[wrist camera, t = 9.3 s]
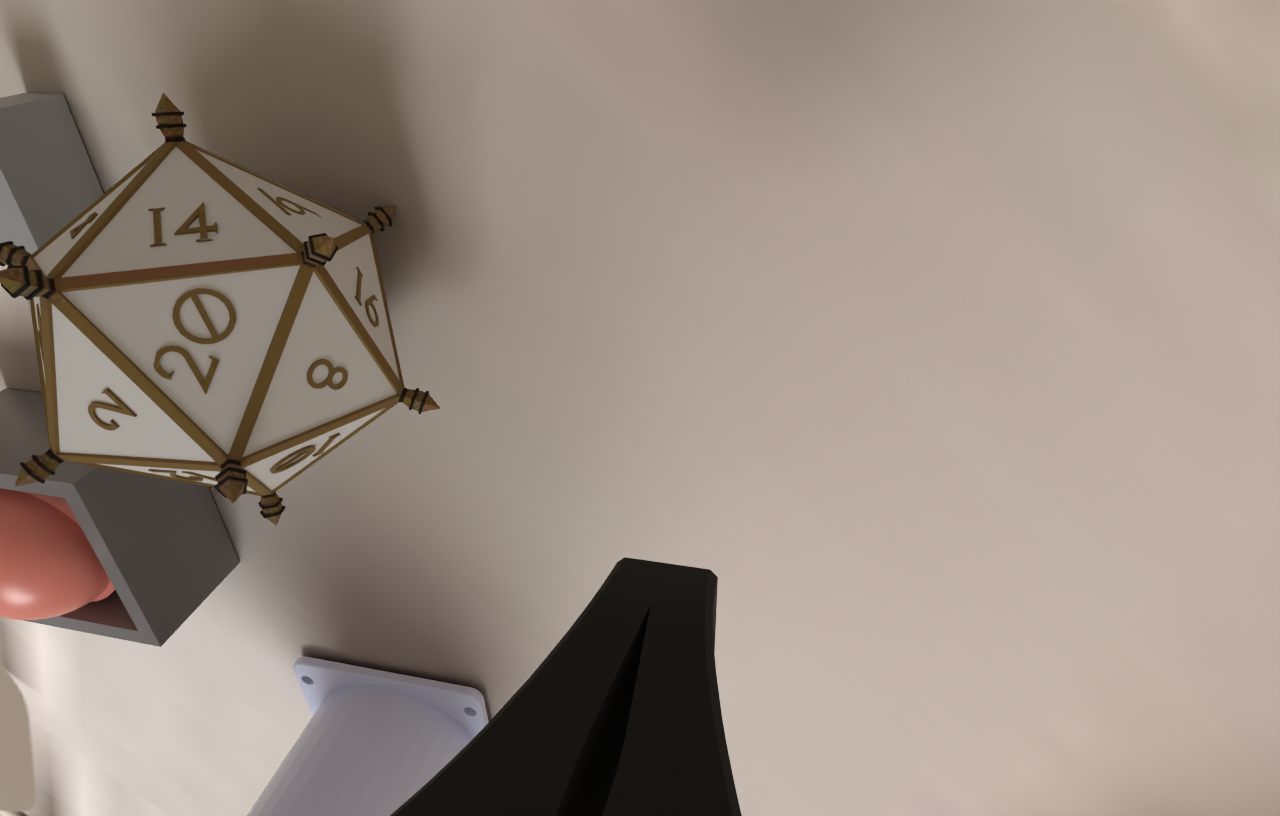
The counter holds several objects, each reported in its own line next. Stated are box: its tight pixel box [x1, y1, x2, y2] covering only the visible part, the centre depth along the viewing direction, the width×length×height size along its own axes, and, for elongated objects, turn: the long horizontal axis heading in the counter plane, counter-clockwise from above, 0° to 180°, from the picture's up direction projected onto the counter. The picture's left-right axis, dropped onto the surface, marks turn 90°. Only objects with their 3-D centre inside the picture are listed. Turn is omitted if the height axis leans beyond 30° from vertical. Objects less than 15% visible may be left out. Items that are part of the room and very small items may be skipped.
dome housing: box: [0, 389, 240, 647], centre depth 26 cm, size 7×7×4 cm
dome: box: [0, 488, 115, 620], centre depth 25 cm, size 5×5×5 cm
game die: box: [0, 93, 440, 526], centre depth 17 cm, size 9×8×10 cm
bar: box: [0, 93, 104, 308], centre depth 21 cm, size 9×1×2 cm, turn 2°
